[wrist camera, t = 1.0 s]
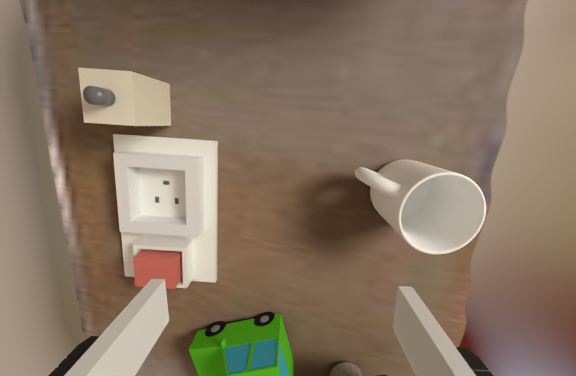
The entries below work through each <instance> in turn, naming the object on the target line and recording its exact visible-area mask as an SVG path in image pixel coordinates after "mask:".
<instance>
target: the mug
mask: <svg viewBox="0 0 576 376" xmlns="http://www.w3.org/2000/svg"><path fill="white" fill-rule="evenodd" d="M355 176H356V177H357V178H358V179H359V180H360V181H362V182H363V183H365V184H367V185H368V186H370V187H371V188H370V197H371V201H372V204H373V206H374V208H375V209H376V210H377V212H378V213H379V214H380V215H381V216H382V217H383V218H384V219H385V220H386V221H387V222H388V223H389V224H390V225H391V226H392V227H393V228H394V229H395V230H396V231H397V232H398V233H399V235H400V236H401V237H402V238H403V239H404V240H405V241H406V242H407V243H408V244H409V245H411V246H412V247H413V248H415V249H417V250H419V251H421V252H424V253H428V254H445V253H450V252H453V251H456V250H458V249H460V248H462V247H463V246H465V245H466V244H468V243H469V242H470V241H471V240H472V239H473V238H474V237H475V236H476V235H477V233H478V232H479V230H480V229H481V227H482V224H483V222H484V219H485V214H486V202H485V198H484V195H483V193H482V191H481V189H480V188H479V187H478V185H477V184H476V183H475V182H474V181H472V180H471V179H470V178H468V177H466V176H464V175H462V174H458V173H455V172H452V171H448V170H445V169H441V168H438V167H435V166H431V165H428V164H424V163H421V162H417V161H414V160H397V161H393V162H391V163H389V164H387V165H385V166H384V167H382V168H381V169H380V170H379V171H378V172H374V171H372V170H369V169H367V168H363V167H359V168H357V169H356V170H355Z"/></svg>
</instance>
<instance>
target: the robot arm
mask: <svg viewBox="0 0 576 376" xmlns="http://www.w3.org/2000/svg"><path fill="white" fill-rule="evenodd" d="M168 322H169V314H168V305H167V295H166V285H165V279H151V280H150V281H149V282H148V283H147V284H146V286H145V287H144V288H143V289H142V290H141V291H140V292H139V293H138V294H137V295H136V297H135V298H134V299H133V300H132V301H131V302H130V303H129V304H128V305H127V307H126V308H125V309H124V310H123V311H122V312H121V313H120V314H119V315H118V317H117V318H116V319H115V320H114V321H113V322H112V323H111V324H110V325H109V327H108V328H107V329H106V330H105V331H104V332H103V333H102V334H101V335H100V336H91V337H89V338H88V339H86V340H85V341H84V342H82V343H81V344H79V345H78V346H77V347H76V348H75V349H74V350H73V351H72V352H71V353H70V354H69V355H68V356H67V358H66V359H64V360H63V361H62V362H61V363H60V364H59V366H58V368H56V369H55V370H54V371H53V372H52V373H51V374H50V375H49V376H135V375H136V373H137V371H138V370H139V368H140V367H141V365H142V363H143V362H144V360H145V359H146V357H147V355H148V354H149V352H150V351H151V349H152V347H153V346H154V344H155V343H156V341H157V339H158V338H159V336H160V335H161V333H162V331H163V330H164V328H165V327H166V325H167V323H168ZM392 328H393V330H394V332H395V334H396V336H397V338H398V340H399V343H400V345H401V347H402V349H403V351H404V353H405V355H406V357H407V359H408V361H409V363H410V365H411V367H412V370H413V372H414V374H415V376H493V375H492V374H491V372H489V371H488V368H487V367H486V366H485V365H484V364H483V362H482V361H481V360H480V358H479V357H477V356H476V355H475V354H474V353H472V352H471V351H470V350H469V349H468V348H460V347H455V346H454V344H453V343H452V342H451V340H450V339H449V337H448V336H447V335H446V333H445V332H444V331H443V329H442V328H441V326H440V325H439V324H438V322H437V321H436V319H435V318H434V317H433V315H432V314H431V312H430V311H429V310H428V308H427V307H426V306H425V304H424V303H423V301H422V300H421V299H420V297H419V296H418V294H417V293H416V292H415V290H414V289H413V288H412V287H405V286H398V291H397V298H396V305H395V313H394V320H393V327H392Z"/></svg>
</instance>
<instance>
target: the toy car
mask: <svg viewBox="0 0 576 376" xmlns="http://www.w3.org/2000/svg"><path fill="white" fill-rule="evenodd" d="M274 315H275V317H274ZM189 353H190V355H191V358H192V361H193V363H194V366H195V368H196V371H197V373H198V376H293V355H292V352H291V348H290V345H289V341H288V337H287V334H286V330H285V327H284V323H283V320H282V316H281V313H279V314H273V313H271V312H264V313H261V314H260V315H258V316H257V317H256V319H255V320H254V319H249V320H243V321H238V322H233V323H228V324H225V323H224V322H223V321H218V322H215V323H212V324H211V325H210V326H208V328H207V329H203V330H199V331H197V333H196V335H195V337H194V339H193V341H192V343H191V345H190V348H189Z"/></svg>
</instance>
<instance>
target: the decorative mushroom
mask: <svg viewBox="0 0 576 376" xmlns="http://www.w3.org/2000/svg"><path fill="white" fill-rule="evenodd" d="M330 376H362V374H361V371H360V369H359V368H358V367H357V366H356V365H354V364H352V363H347V362H343V363H339V364H337V365H336V366H334V367H333V368H332V370H331V372H330ZM377 376H387V375H377Z"/></svg>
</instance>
